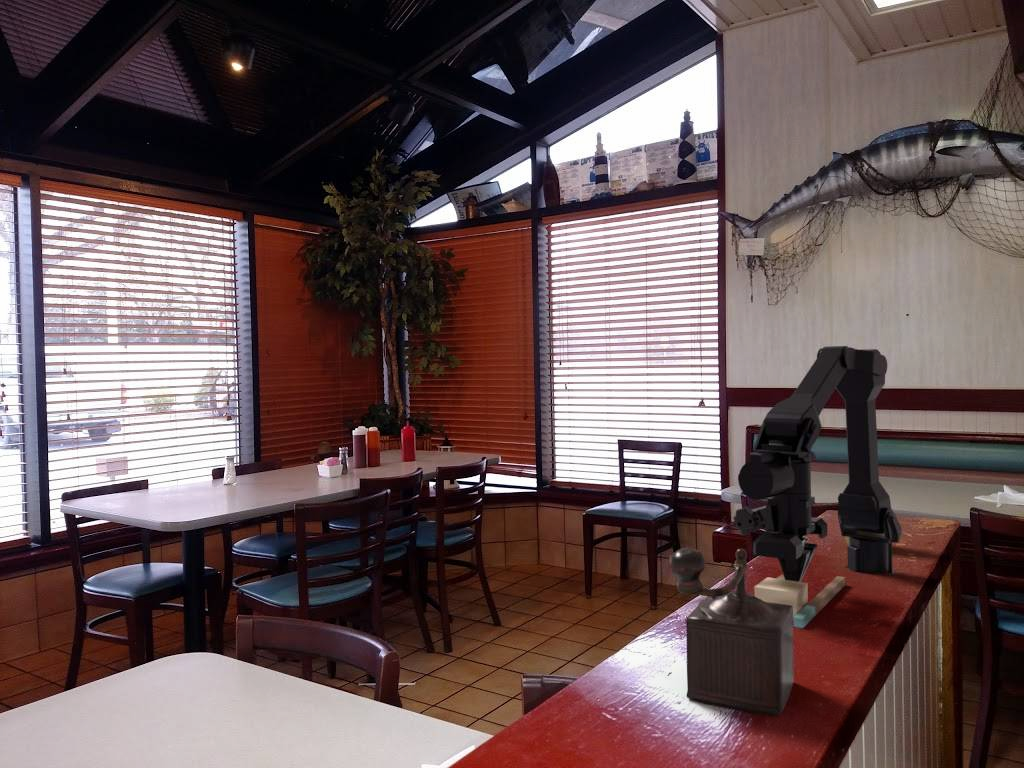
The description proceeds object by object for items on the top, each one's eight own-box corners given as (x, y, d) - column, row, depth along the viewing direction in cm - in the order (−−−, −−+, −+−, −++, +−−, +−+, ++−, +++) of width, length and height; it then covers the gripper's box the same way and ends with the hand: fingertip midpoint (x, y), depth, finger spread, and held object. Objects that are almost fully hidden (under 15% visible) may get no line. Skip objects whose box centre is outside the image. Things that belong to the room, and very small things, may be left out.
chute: (786, 580, 134) (785, 569, 134) (847, 589, 128) (847, 577, 128) (735, 620, 113) (735, 607, 113) (805, 633, 108) (805, 619, 107)
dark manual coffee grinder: (702, 666, 97) (700, 523, 96) (796, 682, 91) (794, 531, 91) (665, 717, 83) (662, 550, 83) (772, 739, 78) (769, 561, 77)
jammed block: (767, 603, 119) (767, 577, 119) (807, 609, 116) (807, 583, 116) (754, 613, 114) (754, 586, 114) (796, 620, 111) (796, 593, 111)
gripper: (758, 479, 131) (760, 570, 132) (718, 496, 116) (720, 599, 117) (827, 483, 125) (828, 579, 125) (794, 502, 110) (795, 611, 110)
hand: (792, 591), depth 119 cm, fingers closed
